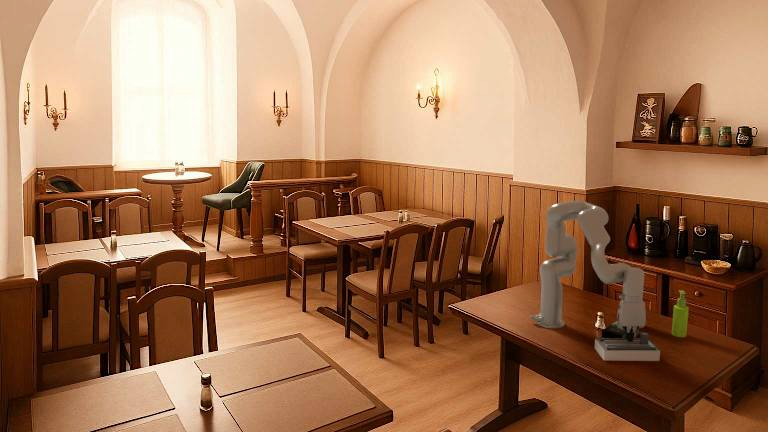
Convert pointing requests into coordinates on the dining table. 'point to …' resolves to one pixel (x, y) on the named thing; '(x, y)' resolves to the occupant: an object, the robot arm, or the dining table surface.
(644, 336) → the handle
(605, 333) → the juice carton
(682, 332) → the soap dispenser
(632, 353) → the box
